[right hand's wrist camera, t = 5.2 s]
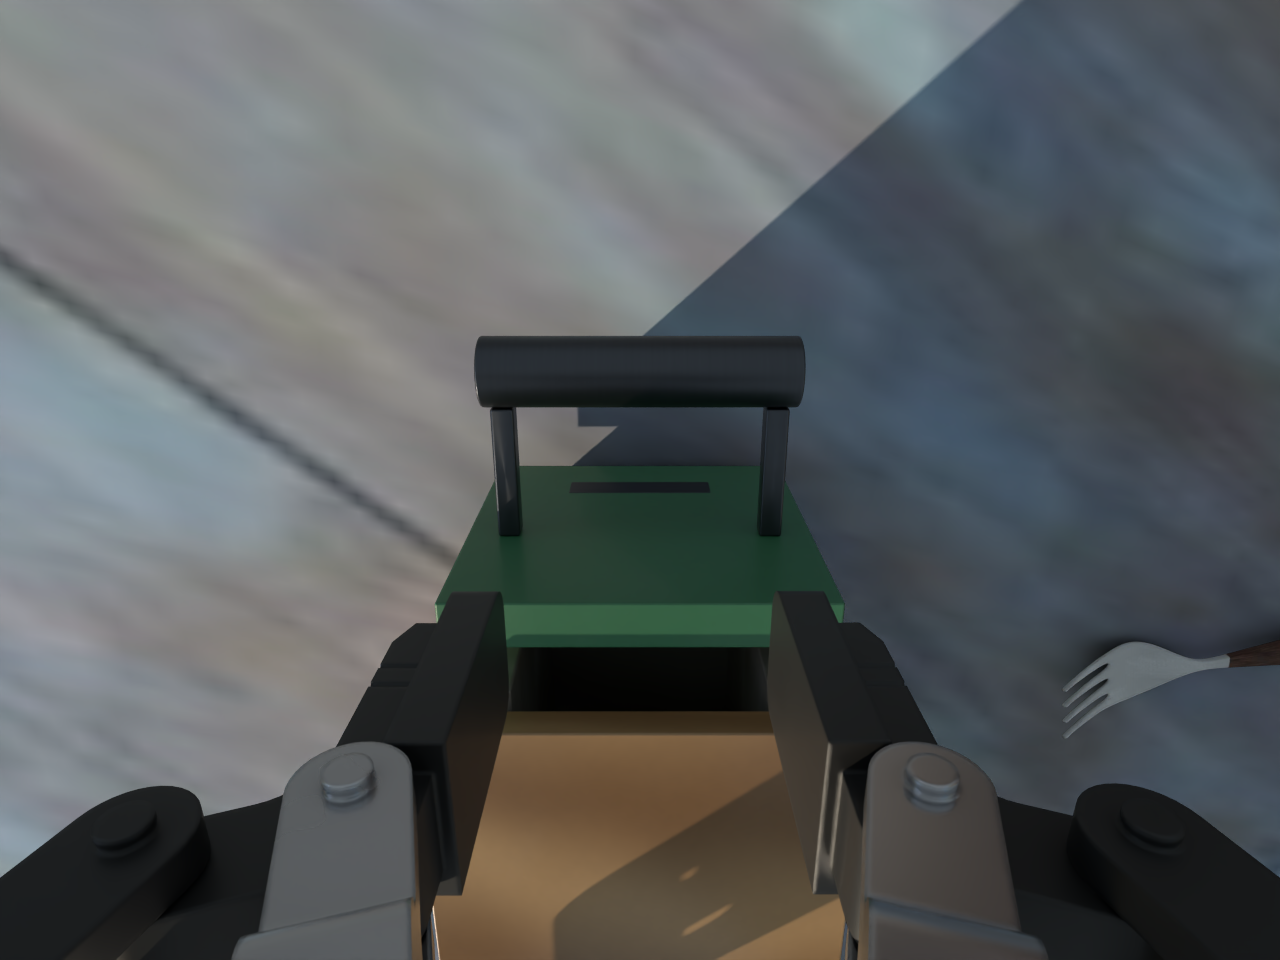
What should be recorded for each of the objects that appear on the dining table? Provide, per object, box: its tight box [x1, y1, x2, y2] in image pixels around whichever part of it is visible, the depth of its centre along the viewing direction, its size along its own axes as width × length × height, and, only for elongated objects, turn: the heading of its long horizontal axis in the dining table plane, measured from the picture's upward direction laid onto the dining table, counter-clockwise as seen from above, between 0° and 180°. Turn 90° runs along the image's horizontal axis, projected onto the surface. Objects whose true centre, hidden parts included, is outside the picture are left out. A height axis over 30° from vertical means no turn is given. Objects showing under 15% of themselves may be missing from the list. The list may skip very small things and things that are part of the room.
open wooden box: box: [433, 711, 846, 960], centre depth 26 cm, size 16×11×11 cm
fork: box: [1062, 640, 1280, 738], centre depth 29 cm, size 3×16×2 cm, turn 101°
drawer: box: [435, 336, 845, 711], centre depth 24 cm, size 20×9×9 cm, turn 0°
